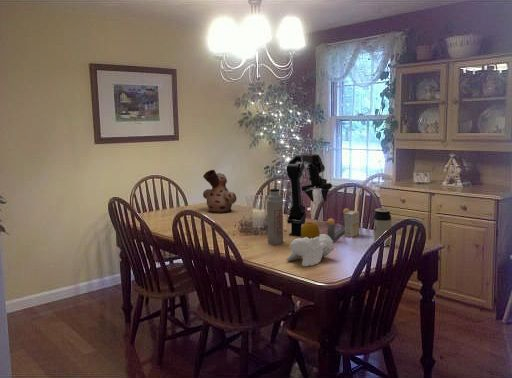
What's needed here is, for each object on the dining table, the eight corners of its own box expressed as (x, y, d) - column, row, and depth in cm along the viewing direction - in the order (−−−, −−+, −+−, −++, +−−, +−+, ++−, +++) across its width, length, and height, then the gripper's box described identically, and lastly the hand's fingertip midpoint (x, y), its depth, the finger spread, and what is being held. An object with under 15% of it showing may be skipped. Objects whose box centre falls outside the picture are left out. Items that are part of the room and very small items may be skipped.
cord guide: (333, 242, 251) (333, 219, 250) (326, 241, 253) (326, 218, 251) (350, 228, 282) (351, 207, 280) (344, 227, 283) (344, 207, 282)
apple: (297, 243, 251) (297, 220, 250) (314, 240, 255) (314, 219, 253) (305, 247, 242) (305, 224, 241) (323, 245, 246) (323, 222, 244)
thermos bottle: (285, 243, 251) (284, 189, 247) (270, 244, 249) (269, 190, 245) (280, 239, 258) (279, 187, 254) (265, 241, 256) (264, 188, 252)
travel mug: (390, 243, 247) (391, 208, 245) (390, 247, 240) (391, 211, 237) (374, 242, 249) (374, 207, 247) (373, 246, 242) (374, 210, 239)
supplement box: (351, 233, 269) (351, 210, 267) (359, 234, 266) (359, 211, 264) (344, 236, 263) (344, 212, 261) (352, 237, 260) (352, 213, 258)
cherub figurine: (337, 237, 219) (304, 240, 207) (335, 264, 220) (302, 268, 209) (317, 231, 230) (285, 233, 218) (315, 257, 231) (282, 260, 219)
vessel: (243, 210, 341) (242, 168, 337) (225, 216, 323) (223, 171, 318) (210, 207, 356) (209, 166, 352) (191, 212, 338) (189, 170, 334)
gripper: (335, 171, 285) (339, 197, 286) (310, 173, 298) (314, 198, 300) (324, 175, 277) (328, 202, 279) (299, 177, 290) (303, 203, 292)
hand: (319, 201), depth 287 cm, fingers open, 9 cm apart
